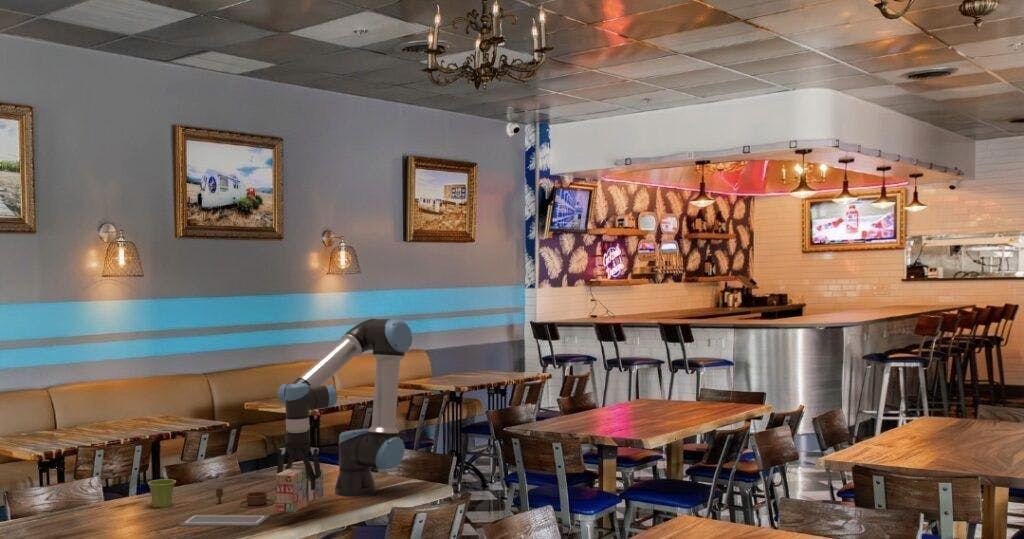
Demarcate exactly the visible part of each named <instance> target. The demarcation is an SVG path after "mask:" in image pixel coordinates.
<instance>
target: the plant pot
mask: <svg viewBox="0 0 1024 539" xmlns="http://www.w3.org/2000/svg"><path fill="white" fill-rule="evenodd" d="M176 483H177V480H175V479H171V478H170V479H169V478H168V479H167V478H165V479H164V478H161V479H155V480H150V481H148V482H147V484H148V487H149V489H150V496H151V502H152V507H153V508H154V509H155V508H156V509H157V508H161V509H162V508H168V507H170V506H172V502H173V501H172V499H173V495H174V494H173V492H174V487H175V484H176Z"/></svg>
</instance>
